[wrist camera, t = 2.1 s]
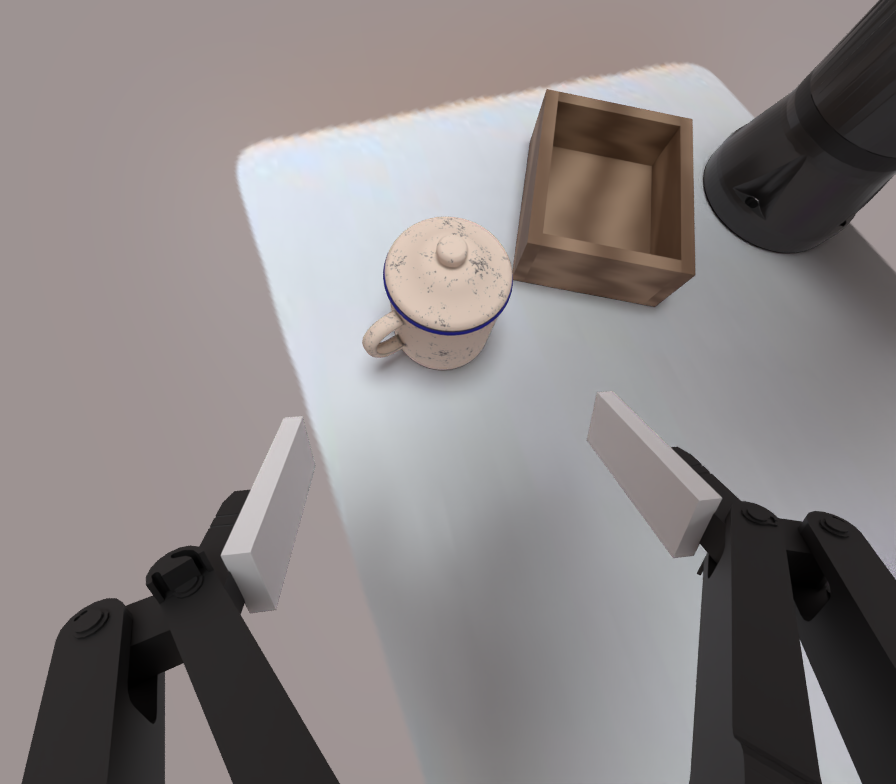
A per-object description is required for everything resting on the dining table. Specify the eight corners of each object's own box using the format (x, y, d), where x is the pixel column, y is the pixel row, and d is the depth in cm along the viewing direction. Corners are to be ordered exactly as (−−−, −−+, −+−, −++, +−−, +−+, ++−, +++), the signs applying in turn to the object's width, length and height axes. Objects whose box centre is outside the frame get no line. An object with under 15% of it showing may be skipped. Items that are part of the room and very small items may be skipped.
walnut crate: (656, 167, 41) (692, 119, 36) (654, 306, 36) (695, 275, 31) (530, 141, 40) (546, 89, 35) (511, 279, 36) (527, 242, 31)
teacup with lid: (451, 266, 36) (466, 163, 25) (510, 337, 34) (554, 263, 23) (344, 332, 33) (307, 250, 22) (403, 412, 32) (395, 369, 20)
